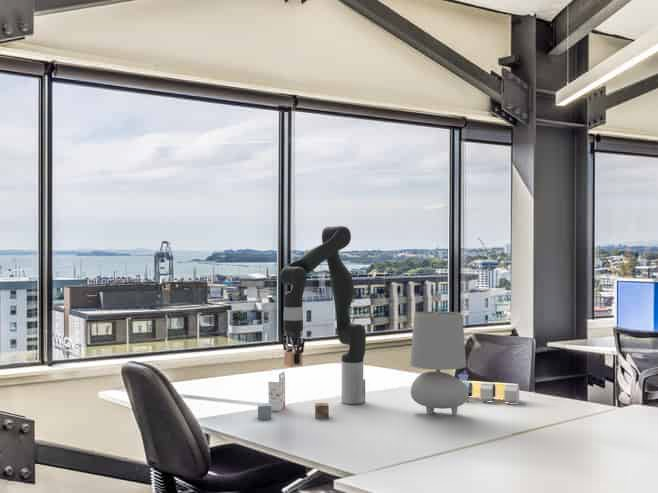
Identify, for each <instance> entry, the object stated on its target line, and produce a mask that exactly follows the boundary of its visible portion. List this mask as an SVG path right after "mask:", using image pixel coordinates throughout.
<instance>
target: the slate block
mask: <svg viewBox="0 0 658 493" xmlns="http://www.w3.org/2000/svg"><path fill="white" fill-rule="evenodd" d="M271 419H272V411H271V403H269V402H268V403H265V402H264V403H258V404H257V420H271Z"/></svg>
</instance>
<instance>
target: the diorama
mask: <svg viewBox="0 0 658 493" xmlns="http://www.w3.org/2000/svg"><path fill="white" fill-rule="evenodd" d="M463 373H465V374H463ZM463 373H460V374H457V376H458V377H457V378H458V379H459V380H461V381H462V382H463V383H464V384H466V386H467V387H468V390H469V396H479V397H480V398H479V399H480V402H481V401H493V400H494V399H492V397H496V398H504V400H503V401H504V403H505V402H509V403H517V402H518V403H519V401H520V385H519V383H511V382H510V383H509V382H495V381H494V382H492V381H491V382H490V381H478V380H477V381H476V380H469V379H468V378H469V374H468V370H463ZM469 396H468V399H467V400H469V401H470V399H469ZM518 400H519V401H518ZM493 402H494V401H493ZM518 403H517V404H518Z"/></svg>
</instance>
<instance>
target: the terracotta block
mask: <svg viewBox="0 0 658 493" xmlns="http://www.w3.org/2000/svg"><path fill="white" fill-rule="evenodd" d="M283 359H284V366H285V367H289V368H290V367H291V368H294V367H303V353H301V354H300V364H294V350H293V351H292V352H286V351H284V358H283Z"/></svg>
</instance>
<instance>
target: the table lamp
mask: <svg viewBox="0 0 658 493" xmlns="http://www.w3.org/2000/svg"><path fill="white" fill-rule="evenodd" d="M463 316H464V315H463V313H461V312H456V311H417V312H414V314H413V323H412V324H413V327H412V339H411V340H412V341H411V354H410V367H413V368H417V369H423V370H424V369H425V370H435V371H427V372H424V373H421V374H419V375H417V377H416V378H415V379H414V380H413V381H412V384H411V386H410V396H411V398H412V400H413V401H414V402H416V403H417V404H418V405H420V406H423V407H425V408H426V409H425V410H426V415H432V413H431V412H433V413H434V412H435V409H450V410H451V414H452V416H453V415H456V416H457V415H458V408H459V407H461V406H462V405H464V404H465V403H466V402H468V401H467V399H468V396H469V390H468V387H467V386H466V384H464V383H463V382H462V381H463V380H459V378H458V377H455V376H454V375H452V374H449V373H447V372H442V370H444V371H445V370H447V371H448V370H460V369H466V367H467V358H466V347H465V346H466V345H465V333H464V332H465V331H464V330H465V329H464V318H463Z"/></svg>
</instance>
